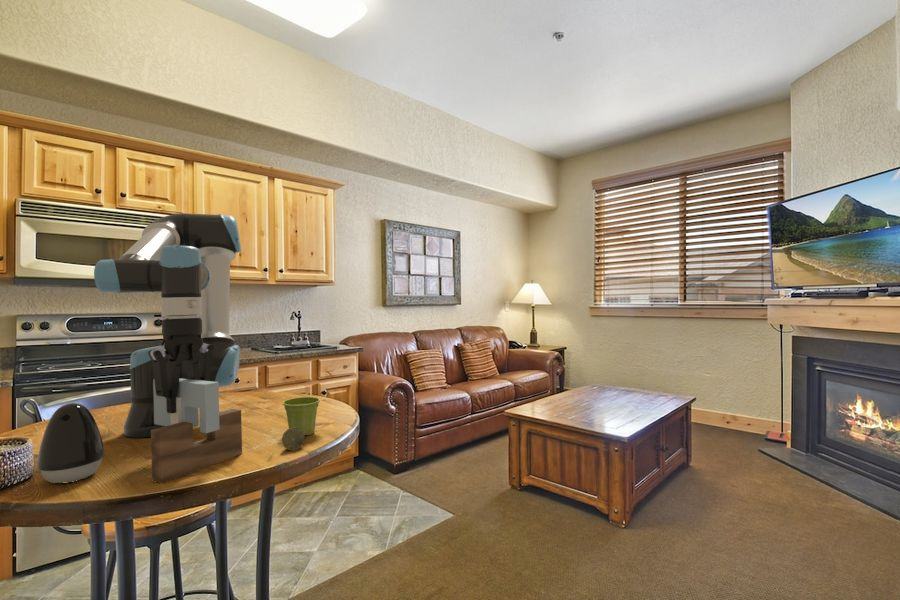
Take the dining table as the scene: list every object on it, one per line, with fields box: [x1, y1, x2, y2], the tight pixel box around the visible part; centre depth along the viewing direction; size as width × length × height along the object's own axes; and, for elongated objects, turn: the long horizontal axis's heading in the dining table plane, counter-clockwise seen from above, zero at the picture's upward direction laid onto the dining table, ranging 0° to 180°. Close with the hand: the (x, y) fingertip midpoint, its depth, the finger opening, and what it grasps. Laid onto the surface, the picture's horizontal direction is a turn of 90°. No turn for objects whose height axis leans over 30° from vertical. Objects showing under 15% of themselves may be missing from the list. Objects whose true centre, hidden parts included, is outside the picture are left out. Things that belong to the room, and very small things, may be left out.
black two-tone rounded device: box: [37, 402, 105, 484], centre depth 89 cm, size 10×10×15 cm
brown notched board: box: [150, 408, 243, 484], centre depth 95 cm, size 3×18×10 cm, turn 153°
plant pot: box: [282, 396, 321, 436], centre depth 116 cm, size 9×9×9 cm
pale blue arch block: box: [153, 378, 220, 434], centre depth 97 cm, size 18×3×10 cm, turn 63°
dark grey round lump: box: [281, 427, 306, 452], centre depth 104 cm, size 4×5×5 cm
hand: (184, 425), depth 97 cm, fingers closed on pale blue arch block, 3 cm apart
